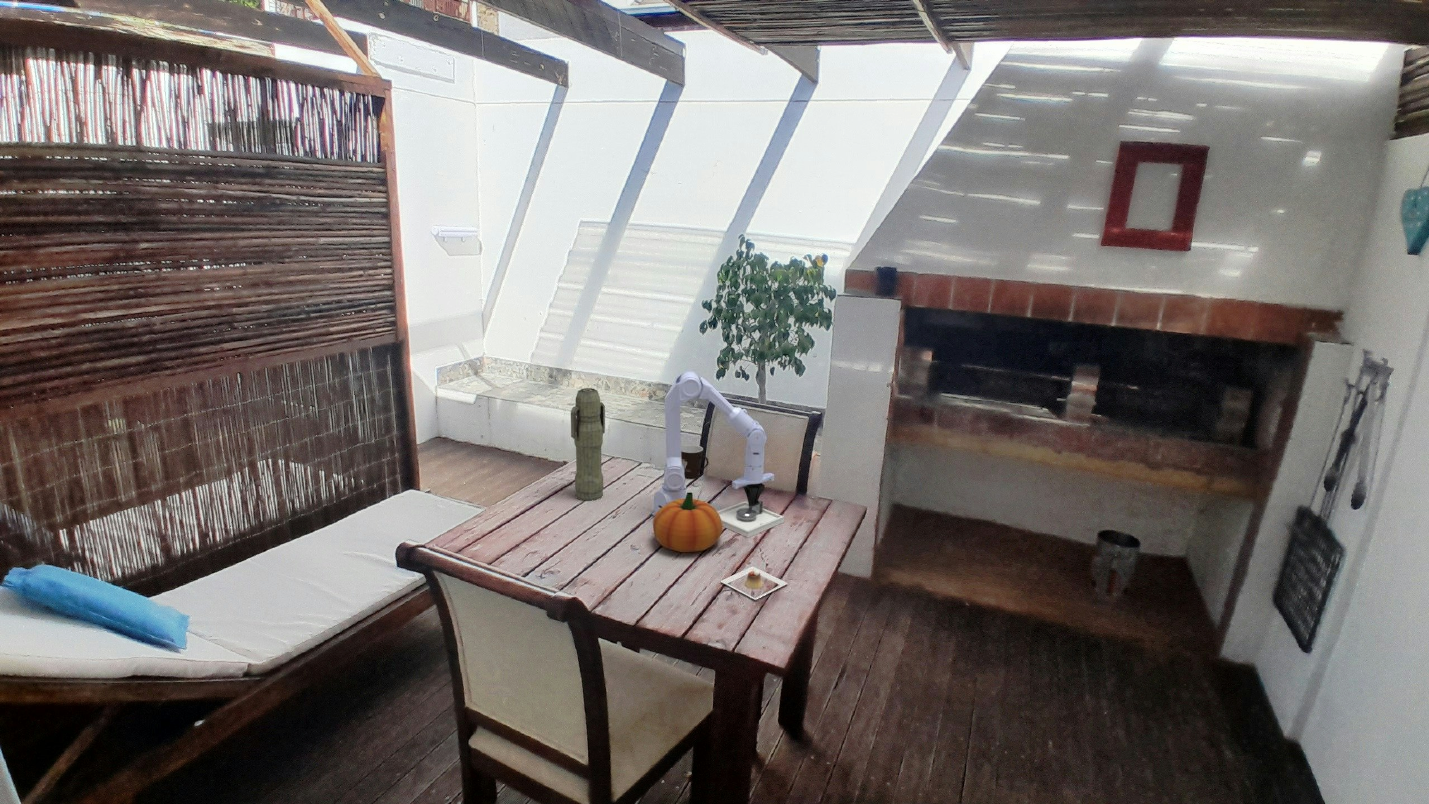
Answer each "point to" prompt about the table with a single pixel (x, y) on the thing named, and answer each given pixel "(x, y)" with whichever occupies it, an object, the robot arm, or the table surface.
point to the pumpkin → (687, 525)
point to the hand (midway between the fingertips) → (752, 506)
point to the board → (748, 527)
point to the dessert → (754, 580)
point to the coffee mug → (692, 460)
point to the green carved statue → (588, 443)
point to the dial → (750, 511)
